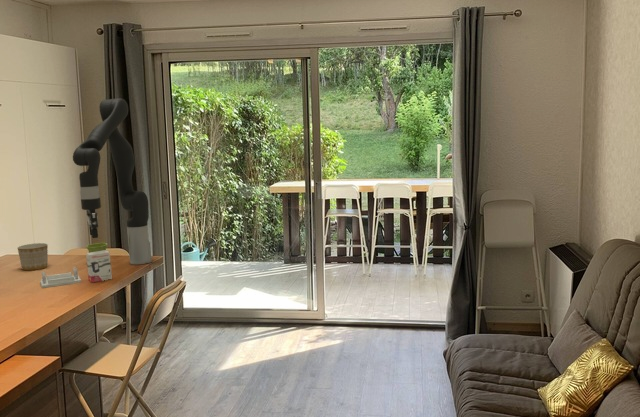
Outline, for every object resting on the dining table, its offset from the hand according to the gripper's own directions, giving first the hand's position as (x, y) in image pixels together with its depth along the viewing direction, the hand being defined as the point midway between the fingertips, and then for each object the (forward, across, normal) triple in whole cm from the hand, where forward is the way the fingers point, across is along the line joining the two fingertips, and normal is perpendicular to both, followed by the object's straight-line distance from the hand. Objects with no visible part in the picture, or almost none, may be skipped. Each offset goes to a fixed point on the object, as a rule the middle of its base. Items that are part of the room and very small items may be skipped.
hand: (94, 236), depth 269 cm
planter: (+19, +43, +23) cm, 52 cm away
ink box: (+19, -1, -1) cm, 19 cm away
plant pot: (+19, +35, -4) cm, 40 cm away
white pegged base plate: (+18, +5, +14) cm, 24 cm away
